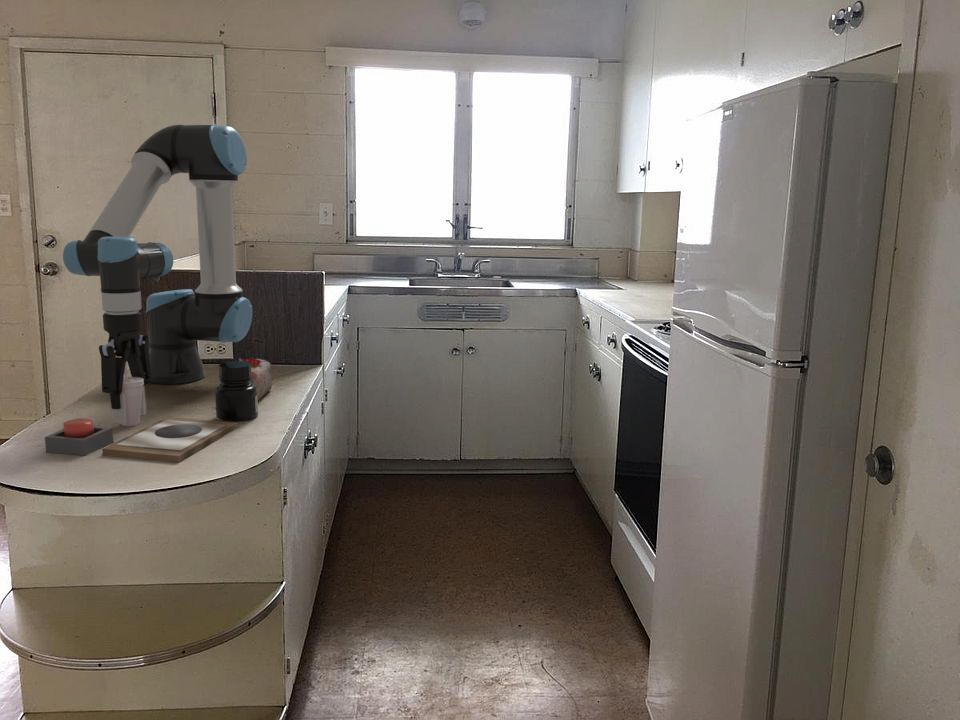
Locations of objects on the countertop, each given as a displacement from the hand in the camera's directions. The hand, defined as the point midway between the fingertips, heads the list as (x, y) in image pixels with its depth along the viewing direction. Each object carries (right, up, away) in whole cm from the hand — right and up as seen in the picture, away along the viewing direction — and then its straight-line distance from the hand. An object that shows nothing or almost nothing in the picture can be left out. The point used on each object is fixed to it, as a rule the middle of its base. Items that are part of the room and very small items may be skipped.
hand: (130, 418), depth 170 cm
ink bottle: (+21, 0, +8) cm, 22 cm away
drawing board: (+13, -4, -10) cm, 17 cm away
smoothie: (0, -1, 0) cm, 1 cm away
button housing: (-3, -4, -15) cm, 16 cm away
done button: (-3, -2, -16) cm, 16 cm away
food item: (+19, +3, +24) cm, 31 cm away
